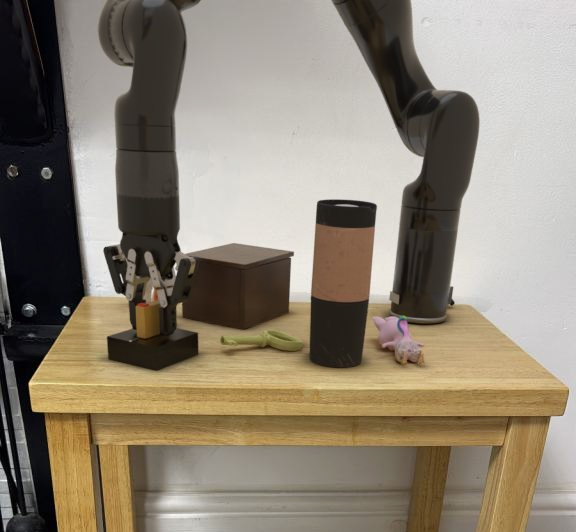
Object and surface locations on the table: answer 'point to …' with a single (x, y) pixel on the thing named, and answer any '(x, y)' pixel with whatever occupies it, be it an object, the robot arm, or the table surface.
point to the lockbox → (239, 294)
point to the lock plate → (152, 348)
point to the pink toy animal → (398, 339)
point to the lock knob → (147, 319)
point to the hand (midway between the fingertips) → (153, 331)
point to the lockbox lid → (240, 255)
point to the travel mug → (341, 281)
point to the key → (265, 340)
